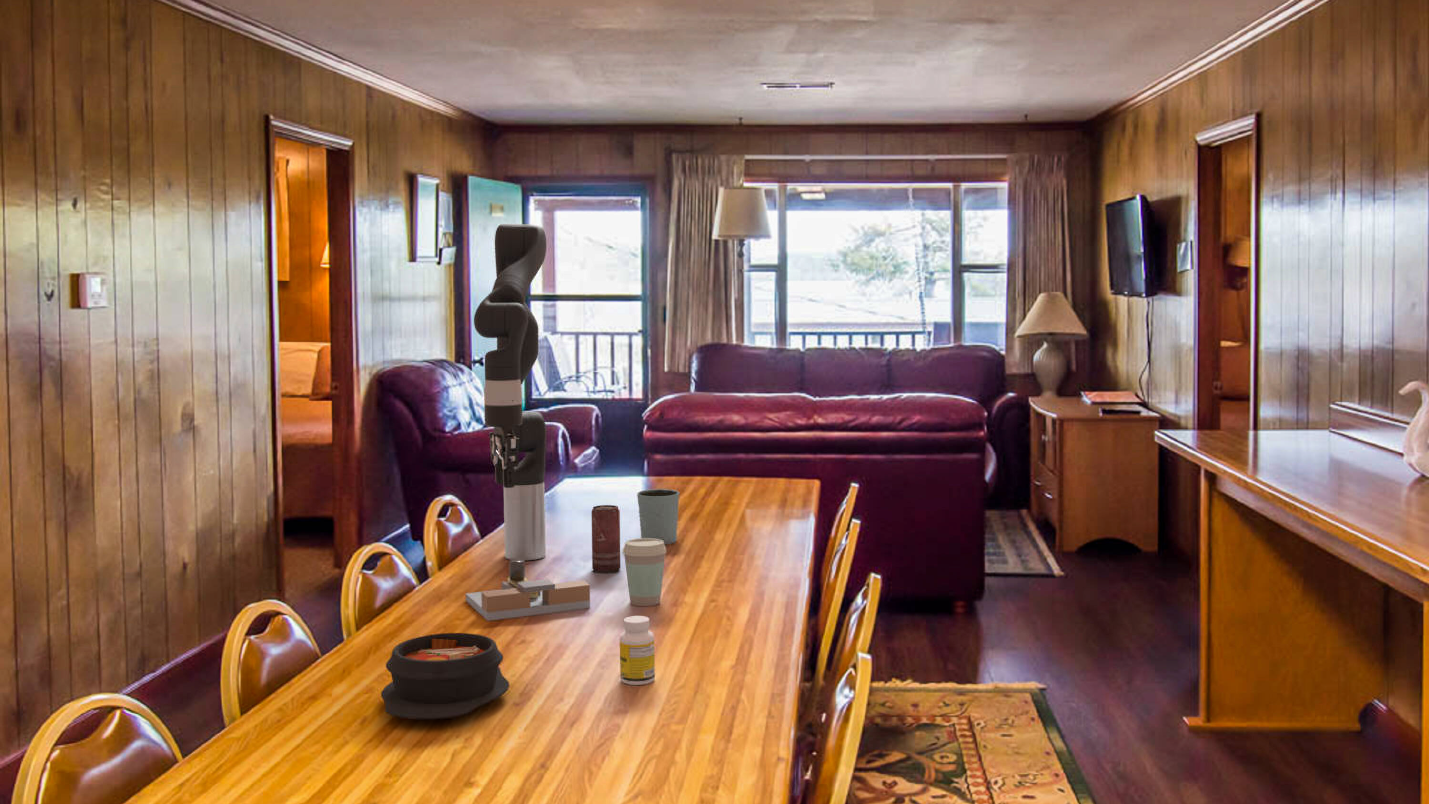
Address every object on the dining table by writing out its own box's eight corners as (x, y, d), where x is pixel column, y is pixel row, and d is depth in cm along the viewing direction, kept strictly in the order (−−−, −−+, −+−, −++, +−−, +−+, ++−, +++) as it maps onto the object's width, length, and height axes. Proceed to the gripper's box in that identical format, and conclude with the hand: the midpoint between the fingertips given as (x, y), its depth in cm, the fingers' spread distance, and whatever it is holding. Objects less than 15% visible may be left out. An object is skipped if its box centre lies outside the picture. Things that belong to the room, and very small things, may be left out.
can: (617, 574, 258) (616, 509, 257) (588, 572, 259) (587, 508, 258) (624, 567, 264) (624, 504, 263) (597, 566, 265) (596, 503, 264)
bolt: (507, 587, 240) (506, 560, 239) (523, 585, 241) (522, 558, 241) (522, 599, 231) (521, 570, 230) (538, 597, 232) (537, 569, 232)
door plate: (466, 600, 236) (465, 573, 236) (563, 589, 245) (562, 562, 244) (487, 621, 222) (487, 591, 221) (590, 608, 230) (589, 580, 230)
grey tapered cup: (682, 537, 296) (681, 489, 295) (676, 545, 286) (676, 496, 285) (641, 536, 297) (640, 488, 296) (634, 545, 287) (634, 495, 286)
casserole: (410, 673, 192) (408, 622, 191) (525, 675, 191) (524, 623, 190) (355, 731, 167) (353, 672, 166) (487, 733, 166) (486, 673, 165)
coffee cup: (673, 599, 237) (673, 539, 236) (657, 609, 229) (656, 547, 228) (633, 595, 240) (632, 536, 239) (616, 606, 232) (615, 545, 231)
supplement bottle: (620, 675, 190) (619, 614, 189) (654, 674, 190) (653, 613, 190) (620, 686, 185) (619, 624, 184) (655, 685, 185) (654, 623, 184)
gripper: (531, 404, 238) (533, 489, 239) (511, 398, 250) (512, 479, 252) (494, 406, 234) (496, 492, 236) (475, 400, 247) (477, 481, 249)
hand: (505, 485), depth 244 cm, fingers open, 5 cm apart
